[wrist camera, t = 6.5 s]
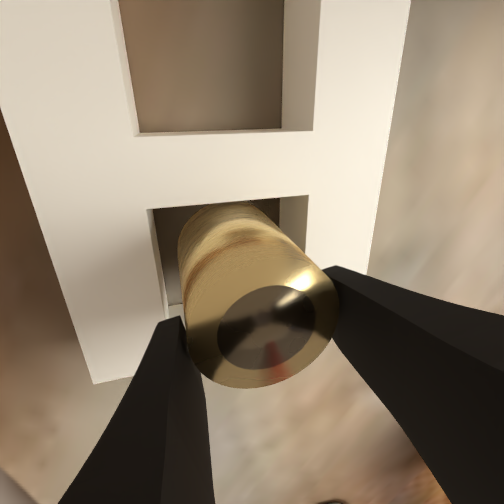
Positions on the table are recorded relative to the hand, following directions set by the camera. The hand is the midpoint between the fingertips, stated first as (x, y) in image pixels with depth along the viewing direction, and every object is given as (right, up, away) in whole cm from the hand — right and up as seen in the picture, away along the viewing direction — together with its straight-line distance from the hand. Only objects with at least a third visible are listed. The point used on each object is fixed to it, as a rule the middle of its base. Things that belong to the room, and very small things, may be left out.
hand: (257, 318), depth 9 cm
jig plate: (-2, +6, +3) cm, 7 cm away
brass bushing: (-1, +2, +3) cm, 4 cm away
